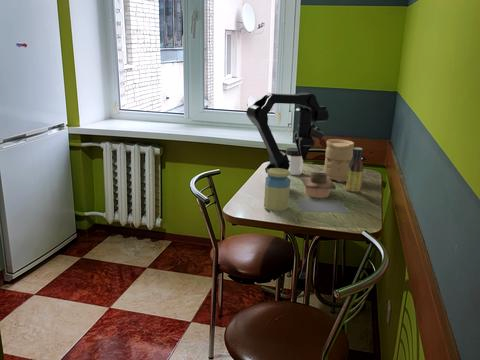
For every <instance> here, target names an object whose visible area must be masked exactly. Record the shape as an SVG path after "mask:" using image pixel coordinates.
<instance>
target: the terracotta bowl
mask: <svg viewBox="0 0 480 360" xmlns="http://www.w3.org/2000/svg"><path fill="white" fill-rule="evenodd" d="M330 191H331V189H311V188H306V187H305V186H304V195H306V196H308V197H311V198H319V199H321V198H323V199H324V198H328V197H330Z"/></svg>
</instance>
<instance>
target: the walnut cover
mask: <svg viewBox="0 0 480 360" xmlns="http://www.w3.org/2000/svg"><path fill="white" fill-rule="evenodd" d="M300 178H301V179H300V180H301V182H302V183H303V186H304V188H305V187H306V188H311V189H330V190H336V189H337V188H336V187H337V186H336V185H335V184H334V182H333V180H330V179H329V178H327V174H326V173H324V172H315V171H314V172H312V171H311V172H310V176H309V177H308V176H307V177H306V176H305V177H303V176H301V177H300Z"/></svg>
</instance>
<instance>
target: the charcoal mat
mask: <svg viewBox="0 0 480 360" xmlns="http://www.w3.org/2000/svg"><path fill="white" fill-rule="evenodd" d="M296 202H297V204H298V206H299V208H300V211H301V212H305V213H306V212H308V213H309V212H311V213H337V214H338V213H339V214H341V213H342V214H350V211H349V210H348V209H347V207H346V205H345V204H344V203H343V202H342V201H341V200H340V199H339V200H336V199H335V200H334V199H311V198H310V199H309V198H308V199H307V198H303V199H302V198H296Z"/></svg>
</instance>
